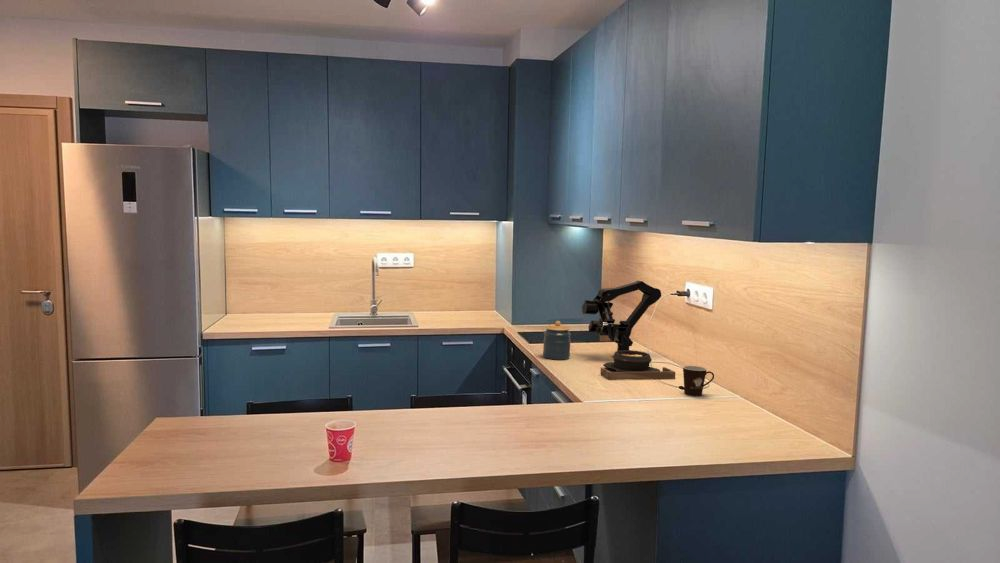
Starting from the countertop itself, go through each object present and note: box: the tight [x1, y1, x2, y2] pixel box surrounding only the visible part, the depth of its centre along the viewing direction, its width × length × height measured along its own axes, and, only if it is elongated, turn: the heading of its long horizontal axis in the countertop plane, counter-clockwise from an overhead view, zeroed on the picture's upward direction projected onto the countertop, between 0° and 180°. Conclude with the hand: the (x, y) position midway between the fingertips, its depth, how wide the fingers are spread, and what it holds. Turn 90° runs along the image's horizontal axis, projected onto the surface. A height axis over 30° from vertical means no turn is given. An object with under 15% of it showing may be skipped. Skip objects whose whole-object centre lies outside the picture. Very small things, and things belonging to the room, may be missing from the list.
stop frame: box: [599, 366, 676, 381], centre depth 272 cm, size 9×30×3 cm, turn 103°
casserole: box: [603, 349, 661, 372], centre depth 281 cm, size 25×19×8 cm
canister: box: [542, 320, 572, 361], centre depth 306 cm, size 13×13×18 cm
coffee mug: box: [682, 365, 715, 397], centre depth 246 cm, size 12×9×10 cm
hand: (613, 340), depth 298 cm, fingers closed
